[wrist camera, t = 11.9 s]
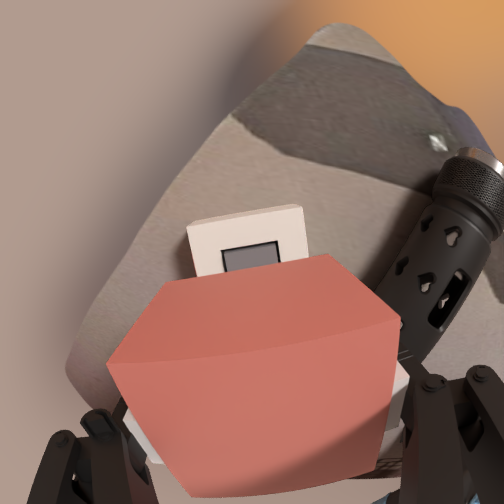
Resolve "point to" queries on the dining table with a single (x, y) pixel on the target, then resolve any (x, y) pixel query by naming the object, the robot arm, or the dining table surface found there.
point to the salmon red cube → (262, 377)
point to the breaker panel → (247, 236)
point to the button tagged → (250, 256)
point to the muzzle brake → (446, 248)
